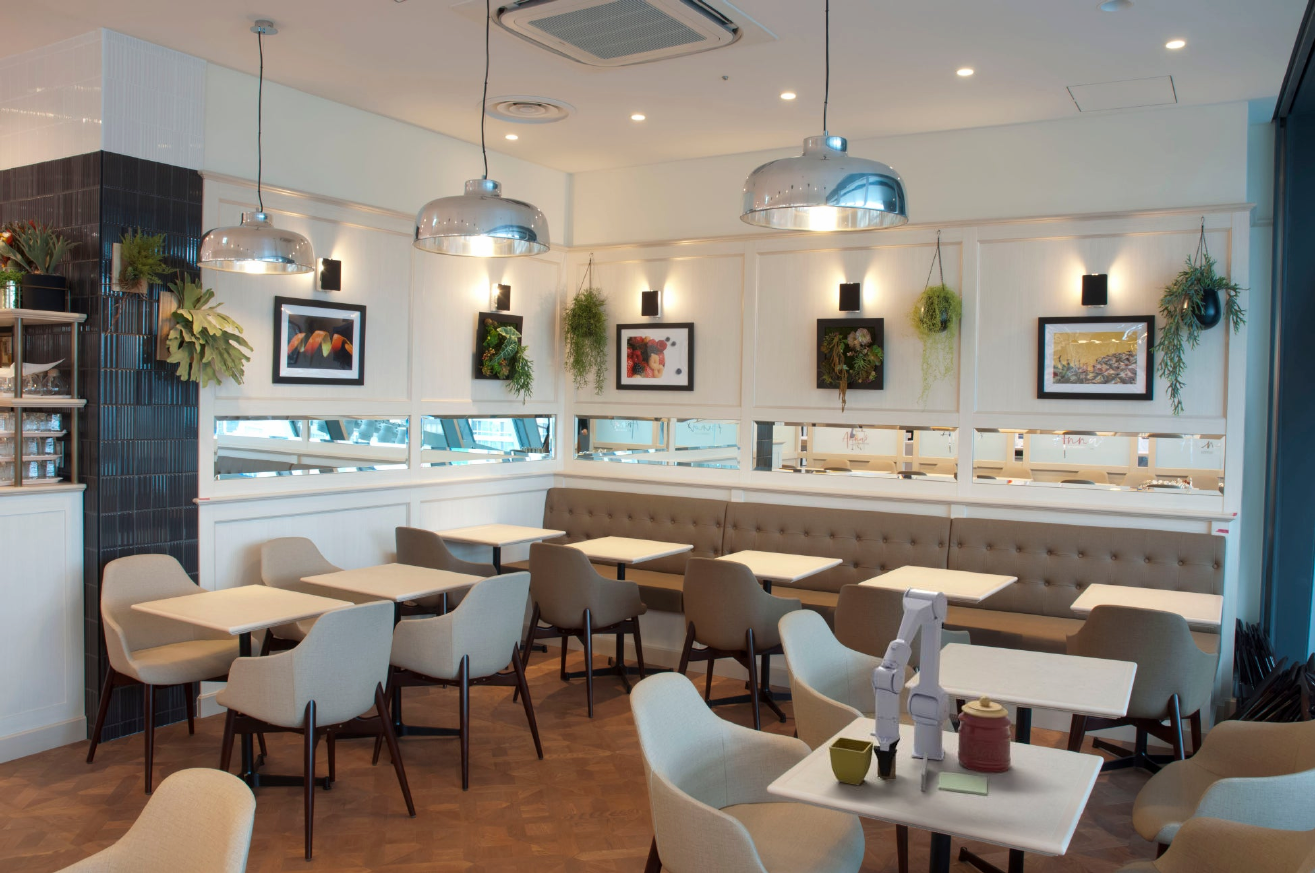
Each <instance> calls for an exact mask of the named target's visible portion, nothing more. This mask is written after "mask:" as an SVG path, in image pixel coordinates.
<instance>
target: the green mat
mask: <svg viewBox="0 0 1315 873" xmlns="http://www.w3.org/2000/svg"><path fill="white" fill-rule="evenodd" d="M987 785H988V782H987V776H982V775H981V776H980V775H971V774H964V773H955V772H947V771H939V780H938V786H937V787H938V790H940V789H943V790H942V791H948V790H949V791H950V792H957V793H958V792H959V793H966V794H973V795H982V796H988V786H987Z"/></svg>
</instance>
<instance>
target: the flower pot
mask: <svg viewBox="0 0 1315 873" xmlns="http://www.w3.org/2000/svg"><path fill="white" fill-rule="evenodd" d="M828 747H829V758H830V764H831V765H830V766H831V769H832V772H833V774H834V776H835V778H836V779H837V781H838V782H839V781H841V782H840V783H844V782H845V783H844V784H850V783H852V784H851V785H855V784H856V786H858V785H859V786H860V784H861V783H862V782H863V780H865V778H866V777H867V774H868V773H869V770H870V767H871V765H872V758H873V751H874V750H873V747H874V742H873V741H869V740H868V741H867V740H860V739H854V738H848V737H842V736H838V737H837V739H835V740H834V742H832V743H831V744H830V745H829V746H828Z"/></svg>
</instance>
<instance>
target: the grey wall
mask: <svg viewBox="0 0 1315 873" xmlns="http://www.w3.org/2000/svg"><path fill="white" fill-rule="evenodd" d="M922 759H923V760H922V765H921V766H922V767H921V773H920V791H921V792H925V789H926V784H927V783H926V782H927V775H928V765H929V764H928V753H924V758H922Z"/></svg>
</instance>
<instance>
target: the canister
mask: <svg viewBox="0 0 1315 873" xmlns="http://www.w3.org/2000/svg"><path fill="white" fill-rule="evenodd" d="M961 710H962V712H961V713H959V714H958V715H957V716H958V717H957V719H958V720H959V721H960V723H959V727H958V728H957V731H958V749H957V750H958V751H957V758H958V763H959V764H960V765H961V766H963V767H964V768H966V769H969V770H972V771H976V772H980V773H989V774H994V773H996V774H997V773H1003V772H1007V771H1008V770H1010V767H1011V764H1012V762H1011V761H1012V757H1011V738H1012V733H1011V731H1010V726H1011V724H1012V720H1011V719H1010V717H1008V714H1009V711H1008V710H1007V709H1006V708H1004V707H1003V706H1002V705H1001V704H999V703H996V702H993V701H991V699H990V698H989V697H988V696H986V695H982V696H980V698H979V700H971V701H969V702H967V703H966V704H964V705H962V706H961Z"/></svg>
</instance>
